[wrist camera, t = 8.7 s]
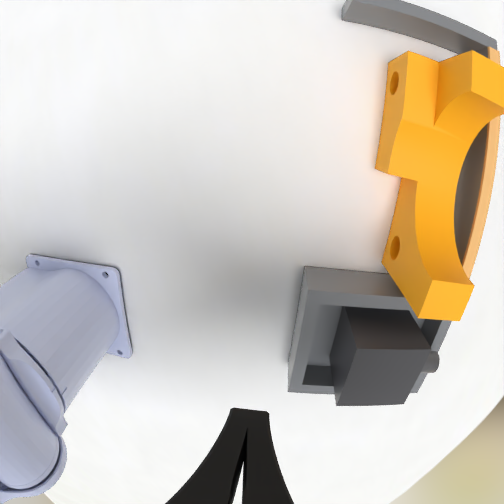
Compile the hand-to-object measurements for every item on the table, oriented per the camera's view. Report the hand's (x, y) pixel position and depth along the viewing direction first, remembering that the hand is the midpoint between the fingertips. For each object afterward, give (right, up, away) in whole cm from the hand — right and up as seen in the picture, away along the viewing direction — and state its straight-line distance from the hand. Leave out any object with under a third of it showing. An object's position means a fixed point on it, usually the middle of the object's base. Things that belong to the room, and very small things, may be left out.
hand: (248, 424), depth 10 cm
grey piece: (+8, +9, +6) cm, 14 cm away
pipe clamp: (+9, +12, +6) cm, 16 cm away
